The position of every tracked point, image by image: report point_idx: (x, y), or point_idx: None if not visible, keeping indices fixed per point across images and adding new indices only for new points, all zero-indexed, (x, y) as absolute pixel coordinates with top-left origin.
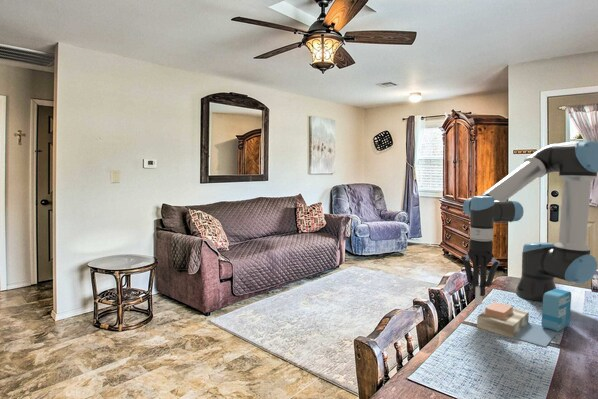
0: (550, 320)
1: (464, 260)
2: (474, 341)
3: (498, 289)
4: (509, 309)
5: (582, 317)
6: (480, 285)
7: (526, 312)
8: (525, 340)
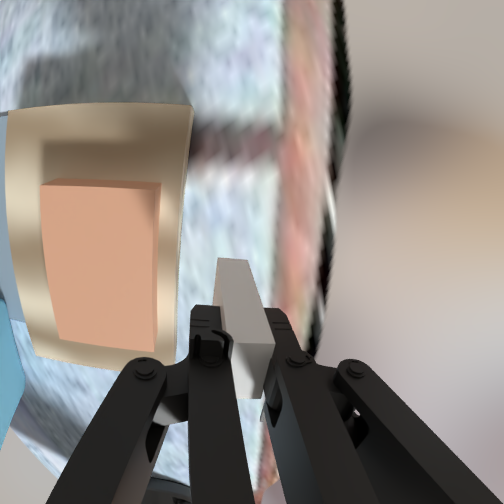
0: None
1: None
2: None
3: None
4: (50, 284)
5: (20, 427)
6: (226, 363)
7: (36, 344)
8: (2, 118)
